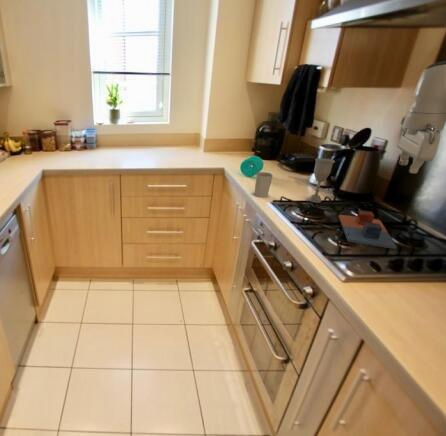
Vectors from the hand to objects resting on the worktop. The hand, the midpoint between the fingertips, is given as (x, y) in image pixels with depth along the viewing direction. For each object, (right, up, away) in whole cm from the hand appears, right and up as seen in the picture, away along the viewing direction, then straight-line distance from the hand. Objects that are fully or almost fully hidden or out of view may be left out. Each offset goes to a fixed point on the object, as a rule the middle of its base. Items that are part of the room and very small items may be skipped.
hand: (407, 168), depth 97 cm
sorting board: (-2, -20, +14) cm, 25 cm away
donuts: (-16, +9, +78) cm, 80 cm away
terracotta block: (0, -17, +18) cm, 25 cm away
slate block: (-4, -21, +9) cm, 24 cm away
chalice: (-3, -8, +42) cm, 43 cm away
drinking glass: (-23, -5, +49) cm, 55 cm away
